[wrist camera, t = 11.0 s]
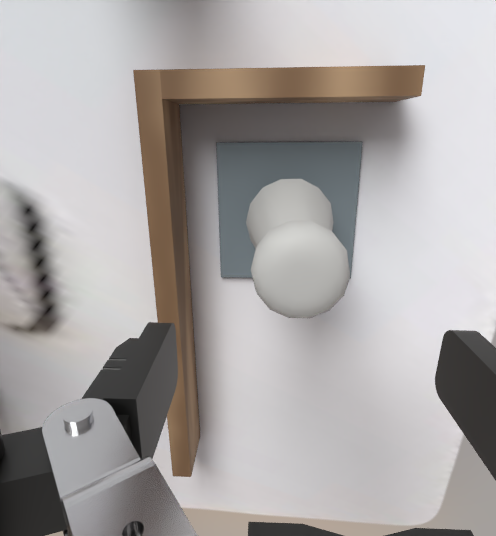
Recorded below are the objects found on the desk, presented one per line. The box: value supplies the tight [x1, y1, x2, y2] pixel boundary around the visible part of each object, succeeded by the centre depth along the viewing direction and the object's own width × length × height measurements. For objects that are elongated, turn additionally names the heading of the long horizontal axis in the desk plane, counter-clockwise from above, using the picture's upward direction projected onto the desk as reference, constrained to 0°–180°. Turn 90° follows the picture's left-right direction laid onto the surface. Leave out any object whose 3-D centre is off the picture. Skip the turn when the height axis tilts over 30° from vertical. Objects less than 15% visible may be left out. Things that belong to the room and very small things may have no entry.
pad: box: [217, 142, 362, 279], centre depth 28 cm, size 10×10×1 cm
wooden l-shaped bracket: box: [133, 65, 425, 477], centre depth 28 cm, size 16×30×4 cm, turn 0°
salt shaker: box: [246, 179, 350, 318], centre depth 22 cm, size 6×6×13 cm
